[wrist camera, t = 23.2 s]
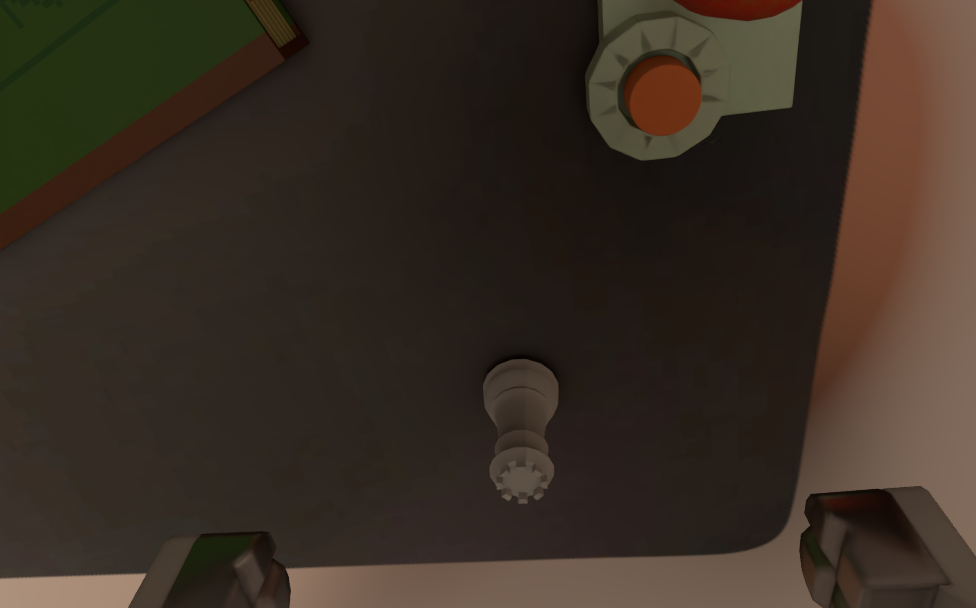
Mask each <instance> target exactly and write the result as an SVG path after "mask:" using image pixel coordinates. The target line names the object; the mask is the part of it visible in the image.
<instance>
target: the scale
mask: <svg viewBox="0 0 976 608" xmlns="http://www.w3.org/2000/svg"><path fill="white" fill-rule="evenodd" d="M597 4H598V26H599V45H598V47H597V50H596V52H595V54H594V56H593V58H592V60H591V62H590V64H589V66H588V69H587V71H586V74H585V85H586V103H587V110H588V113H589V116H590V119H591V121H592V123H593V124H594V125H595V127H596V128H597V130H598V131H599V133H600V134H601V136H602V137H603V138H604V140H605V141H606V143H607V144H608V146H609V147H611V148H612V149H615V150H617V151H619V152H622V153H624V154H626V155H629V156H631V157H633V158H636V159H638V160H642V161H644V160H653V159H662V158H670V157H676V156H679V155H680V154H682V153H683V152H685V151H686V150H688V149H689V148H691V147H692V146H694V145H696V144H697V143H699V142H700V141H702V140H703V139H705V138H706V137H707V136H708V135H710V134H711V132H712V130H713V129H714V127H715V125H716V124H717V122H718V120H719V119H720V117H721V116H724V115H732V114H741V113H749V112H758V111H766V110H774V109H783V108H790V107H792V103H793V92H794V82H795V72H796V61H797V51H798V41H799V30H800V20H801V10H802V1H801V2H799V3H798V4H797V5H795V6H794V7H793V8H791V9H789V10H787V11H784V12H782V13H780V14H778V15H776V16H774V17H770V18H764V19H759V20H753V21H740V20H732V19H723V18H715V17H706V16H702V15H699V14H696V13H693V12H690V11H689V10H687V9H686V8H684V7H683V6H681V5H680V4H678V3H677V2H675V1H674V0H597ZM658 55H666V56H671V57H674V58H676V59H678V60H680V61H681V62H682V63H683V64H684V65H685V66H686V67H687V68H688V69H689V70H690V71H691V72H692V73H693V74H694V75H695V76H696V78H697V79H698V81H699V83H700V86H701V91H702V99H701V105H700V108H699V111H698V113H697V115H696V116H695V118H694V119H693V120H692V122H691V123H690V124H689V125H688V126H686V127H685V128H684V129H682V130H681V131H679V132H677V133H674V134H671V135H667V136H655V135H651V134H648V133H646V132H644V131H643V130H641V129H640V128H639V127H638V126H637V125H636V124H635V122H634V120H633V119H632V117H631V115H630V113H629V111H628V109H627V107H626V105H625V101H624V86H625V82H626V80H627V78H628V76H629V74H630V72H631V71H632V70H633V69H634V68H635V67H636V66H637V65H638V64H639V63H640V62H642V61H643V60H645V59H647V58H650V57H653V56H658Z"/></svg>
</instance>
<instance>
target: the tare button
mask: <svg viewBox="0 0 976 608" xmlns="http://www.w3.org/2000/svg"><path fill="white" fill-rule="evenodd" d="M701 99H702V91H701V86H700V83H699V81H698V79H697V78H696V76H695V75H694V74H693V73H692V72H691V71H690V70H689V69H688V68H687V67H686V66H685V65H684V64H683V63H682V62H681V61H680V60H678V59H676V58H674V57H671V56H666V55H658V56H653V57H650V58H647V59H645V60H643V61H642V62H640V63H639V64H638V65H637V66H636V67H635V68H634V69H633V70H632V71H631V72H630V74H629V76H628V78H627V80H626V82H625V86H624V101H625V105H626V107H627V109H628V111H629V113H630V115H631V117H632V119H633V120H634V122H635V124H636V125H637V126H638V127H639V128H640V129H641V130H643V131H644V132H646V133H648V134H651V135H655V136H667V135H671V134H674V133H677V132H679V131H681V130H682V129H684V128H685V127H686V126H688V125H689V124H690V123H691V122H692V120H693V119H694V118H695V116H696V115H697V113H698V111H699V108H700V105H701Z"/></svg>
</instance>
